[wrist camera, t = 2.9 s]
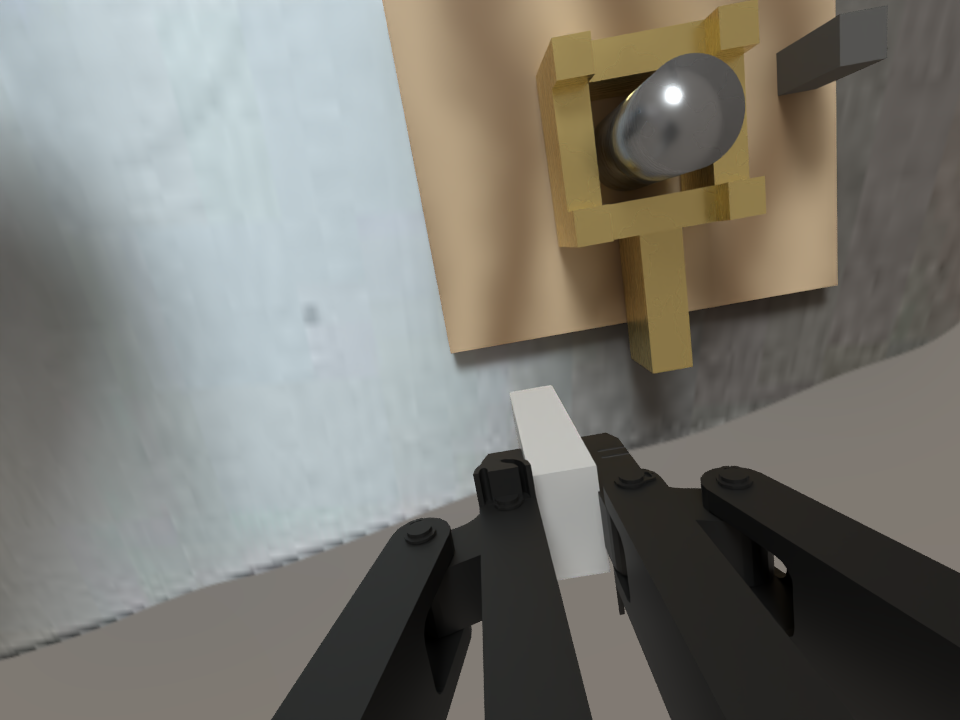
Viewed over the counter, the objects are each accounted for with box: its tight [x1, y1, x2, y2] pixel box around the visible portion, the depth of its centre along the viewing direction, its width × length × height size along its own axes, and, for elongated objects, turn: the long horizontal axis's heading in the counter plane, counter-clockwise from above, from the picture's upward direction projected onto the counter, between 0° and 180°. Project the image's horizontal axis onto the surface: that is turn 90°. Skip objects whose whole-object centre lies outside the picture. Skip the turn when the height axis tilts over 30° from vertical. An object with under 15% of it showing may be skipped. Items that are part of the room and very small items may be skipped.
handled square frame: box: [536, 0, 766, 374], centre depth 24 cm, size 15×8×5 cm, turn 10°
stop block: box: [776, 5, 888, 96], centre depth 23 cm, size 2×2×4 cm
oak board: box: [382, 0, 838, 353], centre depth 27 cm, size 22×18×1 cm
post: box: [594, 53, 745, 191], centre depth 23 cm, size 4×4×9 cm
